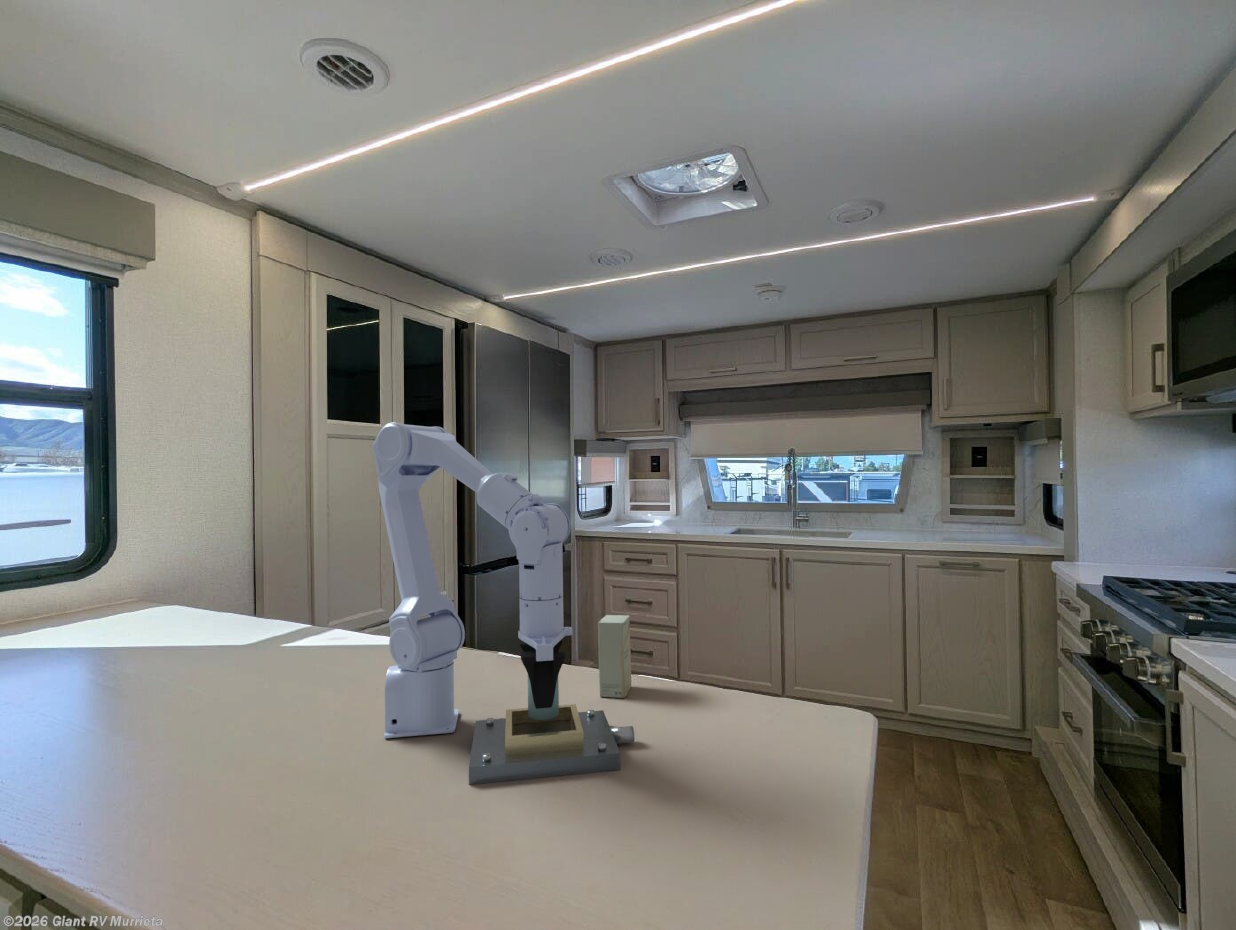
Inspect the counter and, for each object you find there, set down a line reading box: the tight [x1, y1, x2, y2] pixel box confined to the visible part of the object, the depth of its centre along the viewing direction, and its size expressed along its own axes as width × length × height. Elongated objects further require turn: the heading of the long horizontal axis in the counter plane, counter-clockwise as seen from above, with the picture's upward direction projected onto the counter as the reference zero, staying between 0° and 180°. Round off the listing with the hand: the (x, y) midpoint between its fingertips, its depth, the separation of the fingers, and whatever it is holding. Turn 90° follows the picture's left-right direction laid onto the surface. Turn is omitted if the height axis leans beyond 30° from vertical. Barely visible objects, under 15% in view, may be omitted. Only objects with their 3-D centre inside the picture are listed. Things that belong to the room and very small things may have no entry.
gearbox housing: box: [468, 703, 635, 786], centre depth 80 cm, size 21×14×4 cm, turn 100°
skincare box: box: [597, 614, 632, 699], centre depth 101 cm, size 6×4×12 cm
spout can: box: [527, 675, 560, 720], centre depth 80 cm, size 4×4×7 cm
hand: (542, 700), depth 80 cm, fingers closed on spout can, 4 cm apart
